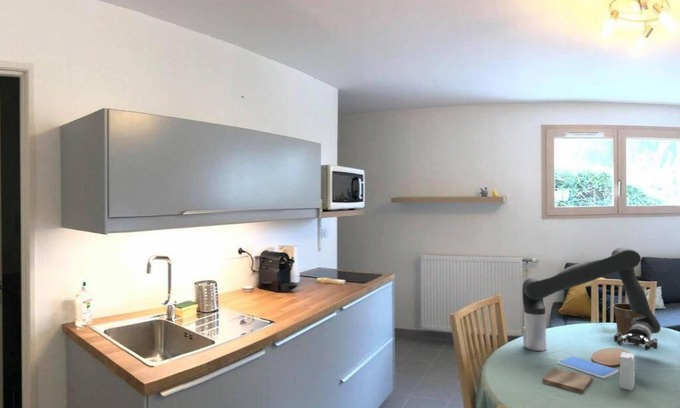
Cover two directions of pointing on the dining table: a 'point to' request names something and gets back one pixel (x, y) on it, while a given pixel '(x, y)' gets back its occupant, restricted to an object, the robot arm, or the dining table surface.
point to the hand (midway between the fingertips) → (632, 345)
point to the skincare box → (627, 371)
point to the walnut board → (568, 380)
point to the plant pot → (624, 317)
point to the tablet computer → (588, 367)
